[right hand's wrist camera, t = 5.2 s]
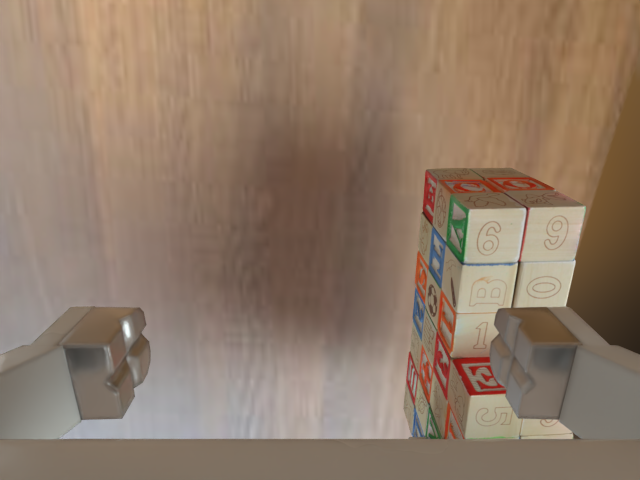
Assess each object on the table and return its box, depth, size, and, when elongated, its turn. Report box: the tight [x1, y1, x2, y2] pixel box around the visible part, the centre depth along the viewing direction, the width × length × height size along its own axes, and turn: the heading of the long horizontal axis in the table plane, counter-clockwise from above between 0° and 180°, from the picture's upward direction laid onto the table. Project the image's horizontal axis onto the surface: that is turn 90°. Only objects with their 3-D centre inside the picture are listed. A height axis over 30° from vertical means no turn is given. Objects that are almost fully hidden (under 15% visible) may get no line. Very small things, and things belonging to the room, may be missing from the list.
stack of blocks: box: [404, 168, 586, 439], centre depth 29 cm, size 21×6×12 cm, turn 0°
